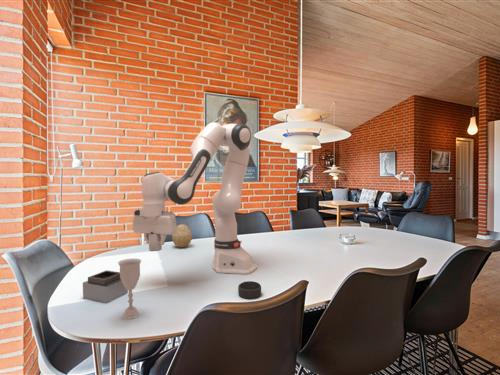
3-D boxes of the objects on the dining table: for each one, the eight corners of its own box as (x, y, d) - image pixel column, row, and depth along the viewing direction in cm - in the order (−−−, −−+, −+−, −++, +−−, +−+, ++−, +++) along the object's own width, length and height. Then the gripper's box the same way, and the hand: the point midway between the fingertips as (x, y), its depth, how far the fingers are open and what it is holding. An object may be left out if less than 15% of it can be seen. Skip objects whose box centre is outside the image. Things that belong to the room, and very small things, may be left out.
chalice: (114, 318, 91) (112, 263, 91) (130, 309, 98) (128, 257, 97) (131, 322, 89) (130, 265, 88) (147, 312, 95) (146, 259, 94)
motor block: (127, 292, 111) (127, 272, 111) (106, 303, 102) (106, 281, 102) (98, 287, 117) (97, 268, 117) (75, 296, 108) (75, 276, 108)
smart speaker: (233, 296, 108) (233, 286, 107) (246, 288, 115) (246, 279, 115) (253, 301, 103) (253, 291, 103) (265, 293, 110) (265, 283, 110)
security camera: (164, 248, 119) (163, 229, 118) (156, 251, 114) (155, 232, 114) (154, 247, 121) (153, 229, 120) (146, 250, 116) (145, 231, 116)
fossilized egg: (171, 250, 176) (171, 226, 176) (172, 245, 188) (172, 223, 188) (192, 248, 179) (192, 225, 178) (191, 244, 191) (191, 222, 191)
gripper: (179, 210, 116) (180, 243, 116) (140, 209, 123) (141, 240, 124) (170, 212, 110) (171, 247, 111) (129, 211, 117) (130, 244, 118)
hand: (155, 244), depth 117 cm, fingers closed on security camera, 5 cm apart
